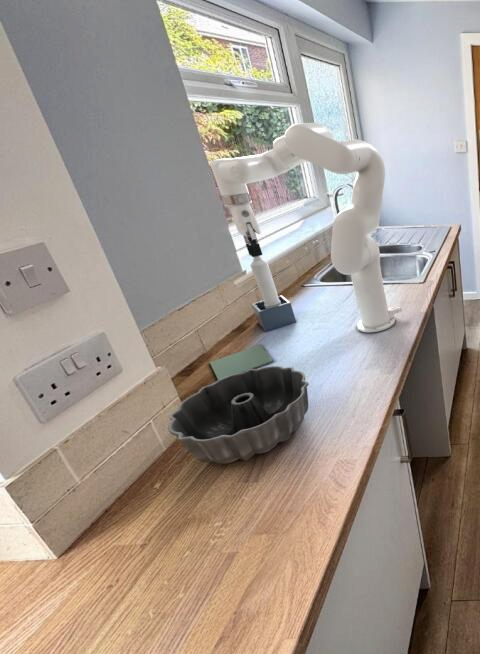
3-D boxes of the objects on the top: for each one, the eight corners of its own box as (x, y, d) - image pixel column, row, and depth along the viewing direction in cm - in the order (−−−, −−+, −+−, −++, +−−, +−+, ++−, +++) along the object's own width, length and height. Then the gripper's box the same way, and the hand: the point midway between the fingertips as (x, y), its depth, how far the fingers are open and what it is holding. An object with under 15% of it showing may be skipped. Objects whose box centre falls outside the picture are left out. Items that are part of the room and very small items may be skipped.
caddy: (287, 313, 153) (281, 295, 150) (296, 321, 146) (290, 302, 143) (258, 322, 147) (251, 303, 143) (265, 331, 140) (258, 311, 137)
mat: (260, 345, 131) (260, 344, 131) (273, 361, 121) (273, 360, 121) (209, 363, 122) (209, 362, 122) (219, 382, 113) (218, 380, 113)
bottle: (269, 304, 146) (246, 237, 136) (284, 303, 146) (262, 236, 136) (262, 310, 141) (238, 241, 131) (278, 309, 142) (254, 240, 131)
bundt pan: (294, 384, 110) (284, 353, 106) (336, 428, 93) (326, 393, 89) (176, 436, 93) (158, 401, 89) (200, 502, 76) (180, 463, 72)
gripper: (256, 199, 125) (275, 256, 133) (244, 195, 136) (262, 248, 143) (228, 204, 120) (249, 262, 128) (218, 199, 131) (238, 253, 139)
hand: (255, 254), depth 136 cm, fingers closed on bottle, 2 cm apart
